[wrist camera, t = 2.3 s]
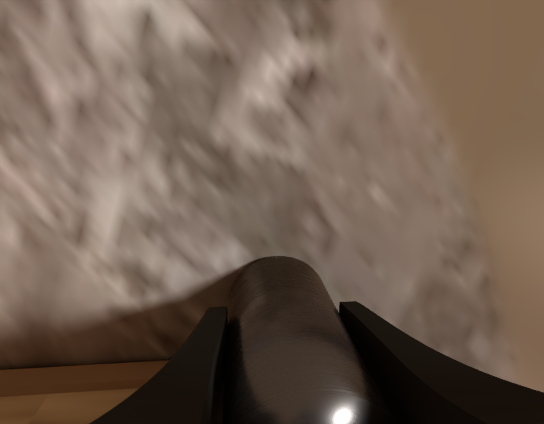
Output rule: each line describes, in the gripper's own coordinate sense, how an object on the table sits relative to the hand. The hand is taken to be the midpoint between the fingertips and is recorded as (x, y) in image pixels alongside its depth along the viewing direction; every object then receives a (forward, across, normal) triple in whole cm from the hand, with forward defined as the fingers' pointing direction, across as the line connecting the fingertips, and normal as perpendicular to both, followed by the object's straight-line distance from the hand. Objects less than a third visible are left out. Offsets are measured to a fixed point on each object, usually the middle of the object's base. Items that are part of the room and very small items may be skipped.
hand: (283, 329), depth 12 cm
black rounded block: (+2, 0, 0) cm, 2 cm away
